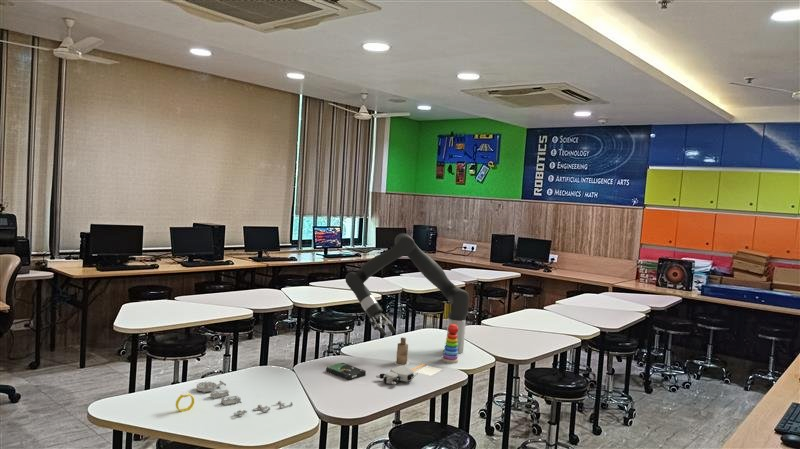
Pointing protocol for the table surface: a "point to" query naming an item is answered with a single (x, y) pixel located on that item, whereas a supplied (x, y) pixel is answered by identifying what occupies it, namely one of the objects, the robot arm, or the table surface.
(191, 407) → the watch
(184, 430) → the table surface
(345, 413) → the table surface
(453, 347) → the stacking toy
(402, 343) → the walnut skittle
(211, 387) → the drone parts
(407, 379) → the robot toy
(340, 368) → the disk drive
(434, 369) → the lane mat
